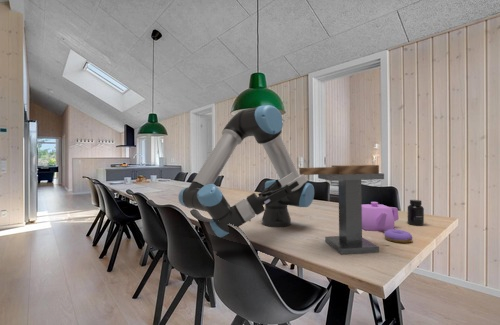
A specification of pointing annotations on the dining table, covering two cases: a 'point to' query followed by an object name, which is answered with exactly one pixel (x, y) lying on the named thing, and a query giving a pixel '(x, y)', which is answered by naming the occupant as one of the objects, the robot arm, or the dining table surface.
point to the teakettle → (378, 217)
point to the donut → (398, 236)
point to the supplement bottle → (415, 213)
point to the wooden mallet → (341, 170)
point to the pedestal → (350, 214)
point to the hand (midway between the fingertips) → (299, 176)
